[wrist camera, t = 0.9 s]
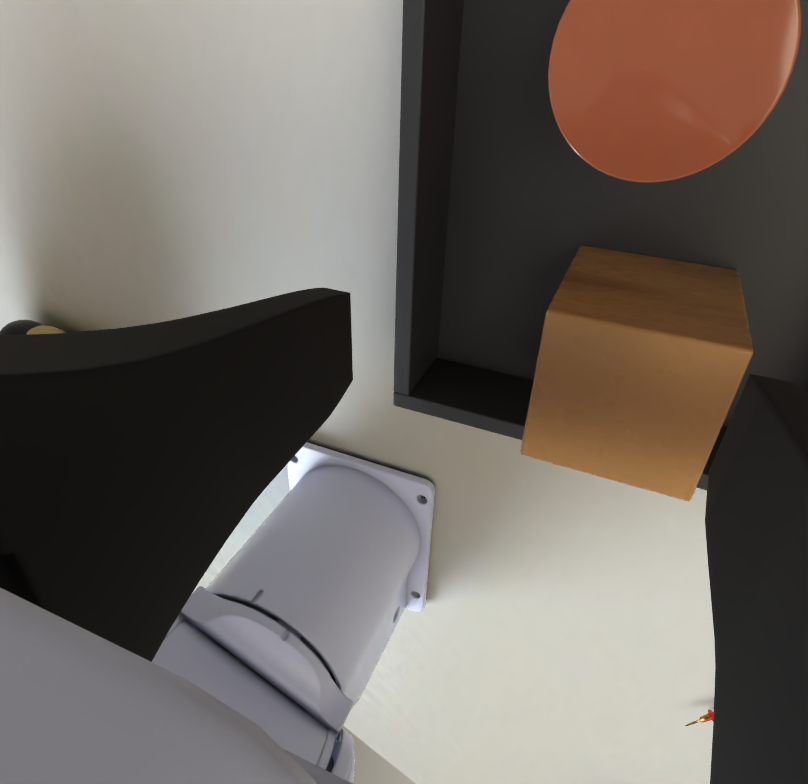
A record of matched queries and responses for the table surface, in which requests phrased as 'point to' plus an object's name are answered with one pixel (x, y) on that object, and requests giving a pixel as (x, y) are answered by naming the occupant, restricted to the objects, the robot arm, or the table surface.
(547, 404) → the block
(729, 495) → the robot arm
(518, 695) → the table surface
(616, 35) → the canister
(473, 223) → the tray
